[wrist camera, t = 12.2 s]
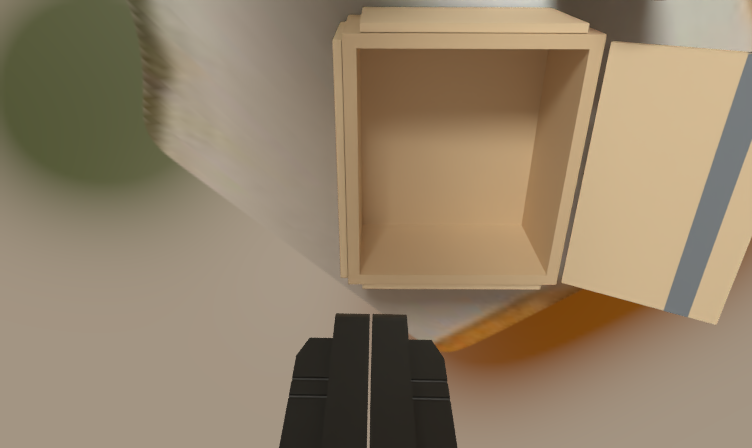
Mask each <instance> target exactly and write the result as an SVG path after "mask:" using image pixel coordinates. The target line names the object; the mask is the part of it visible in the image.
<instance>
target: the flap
mask: <svg viewBox="0 0 752 448" xmlns="http://www.w3.org/2000/svg"><path fill="white" fill-rule="evenodd" d="M751 237H752V52H743V51H731V50H718V49H706V48H694V47H681V46H669V45H657V44H644V43H632V42H620V41H612V42H611V46H610V51H609V55H608V60H607V65H606V70H605V75H604V79H603V84H602V89H601V94H600V99H599V103H598V108H597V113H596V118H595V123H594V127H593V132H592V137H591V142H590V147H589V151H588V156H587V161H586V166H585V171H584V176H583V180H582V185H581V190H580V195H579V200H578V204H577V209H576V214H575V219H574V224H573V228H572V233H571V238H570V243H569V248H568V252H567V257H566V262H565V267H564V272H563V276H562V281H561V283H564V284H568V285H572V286H575V287H579V288H583V289H586V290H590V291H594V292H597V293H601V294H605V295H608V296H612V297H616V298H620V299H623V300H627V301H631V302H634V303H638V304H641V305H645V306H649V307H653V308H656V309H660V310H664V311H667V312H670V313H674V314H678V315H682V316H685V317H689V318H694V319H697V320H700V321H704V322H708V323H711V324H715V325H716V324H717V322H718V320H719V317H720V315H721V312H722V310H723V307H724V305H725V302H726V300H727V297H728V295H729V292H730V289H731V287H732V284H733V282H734V280H735V277H736V274H737V272H738V269H739V267H740V264H741V262H742V259H743V257H744V254H745V252H746V249H747V247H748V244H749V242H750V239H751Z"/></svg>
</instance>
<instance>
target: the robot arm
mask: <svg viewBox="0 0 752 448" xmlns="http://www.w3.org/2000/svg"><path fill="white" fill-rule="evenodd" d="M369 321H370V314H339V313H337V314H336V316H335V324H334V333H333V338H309V339H308V341H307V342H306V343H305V345H304V346H303V348H302V349H301V350H300V352H299V353H298V354H297V355H296V360H295V366H294V371H293V377H292V382H291V388H290V393H289V398H288V404H287V408H286V414H285V419H284V425H283V430H282V435H281V441H280V446H279V448H367V409H368V365H369V364H368V363H369ZM370 404H371V405H370V448H457V442H456V436H455V429H454V422H453V415H452V410H451V402H450V396H449V389H448V384H447V375H446V368H445V361H444V358H443V356H442V355H441V353H440V352H439V350H438V349H437V348H436V346H435V345H434V343H433V342H432V340H409V339H408V325H407V316H406V315H392V314H373V321H372V358H371V403H370Z"/></svg>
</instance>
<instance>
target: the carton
mask: <svg viewBox="0 0 752 448" xmlns="http://www.w3.org/2000/svg"><path fill="white" fill-rule="evenodd" d="M589 24H590V23H587V22H585V21H583V20H580V19H578V18H575V17H573V16H570V15H568V14H566V13H563V12H561V11H558V10H556V9H553V8H526V7H363V9H362V14H361V15H348V18H347V21H346V22H340V24H339V26H338V29H337V31H336V33H335V36H334V38H333V40H332V41H333V70H334V98H335V127H336V156H337V185H338V213H339V242H340V271H341V278H348V284H363V289H540V288H541V285H556V283H557V278H558V273H559V268H560V263H561V258H562V253H563V248H564V243H565V239H566V234H567V229H568V224H569V219H570V214H571V209H572V204H573V199H574V194H575V189H576V184H577V179H578V174H579V170H580V165H581V160H582V155H583V150H584V145H585V140H586V135H587V130H588V125H589V120H590V115H591V110H592V105H593V100H594V96H595V91H596V86H597V81H598V76H599V71H600V66H601V61H602V56H603V51H604V46H605V41H606V36H607V34H605V33H602V32H600V31H598V30H595V29H593V28H591V27H589Z"/></svg>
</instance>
